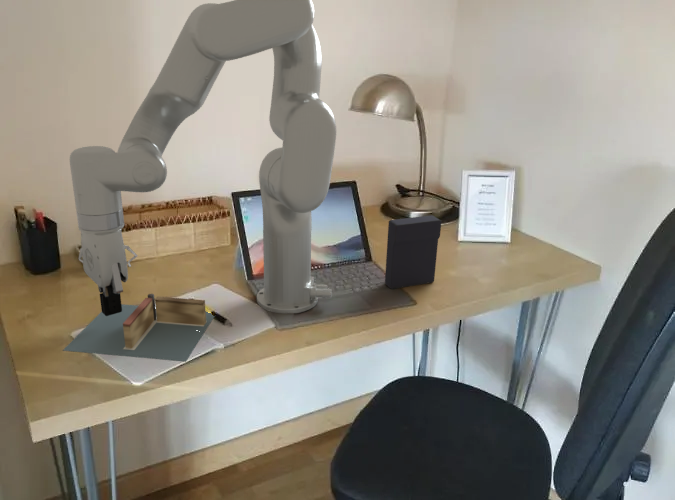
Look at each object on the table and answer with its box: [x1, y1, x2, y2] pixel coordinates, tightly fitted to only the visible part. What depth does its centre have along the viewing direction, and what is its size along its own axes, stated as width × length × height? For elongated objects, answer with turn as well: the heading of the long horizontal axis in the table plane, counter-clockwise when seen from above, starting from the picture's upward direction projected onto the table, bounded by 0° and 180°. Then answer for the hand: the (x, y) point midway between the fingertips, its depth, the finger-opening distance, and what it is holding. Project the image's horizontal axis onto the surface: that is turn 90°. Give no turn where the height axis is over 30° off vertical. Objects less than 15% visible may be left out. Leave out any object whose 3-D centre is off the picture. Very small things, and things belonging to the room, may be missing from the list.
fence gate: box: [123, 297, 154, 348], centre depth 111 cm, size 10×1×5 cm, turn 174°
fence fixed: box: [147, 293, 207, 325], centre depth 116 cm, size 11×1×5 cm, turn 83°
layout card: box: [62, 303, 218, 362], centre depth 114 cm, size 22×18×1 cm
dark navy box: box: [384, 214, 442, 290], centre depth 134 cm, size 11×4×15 cm, turn 113°
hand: (112, 312), depth 114 cm, fingers closed
